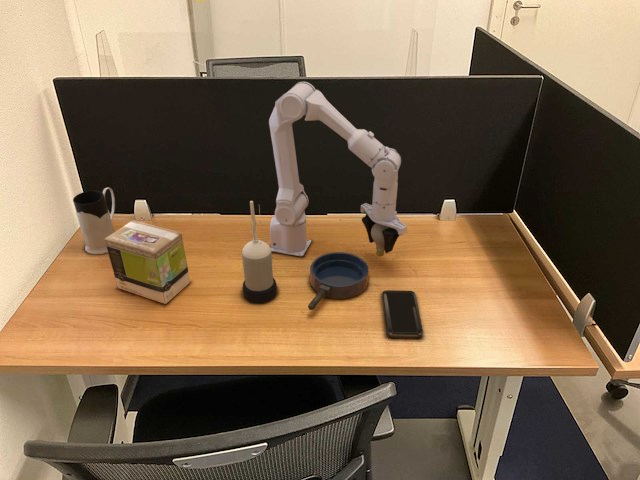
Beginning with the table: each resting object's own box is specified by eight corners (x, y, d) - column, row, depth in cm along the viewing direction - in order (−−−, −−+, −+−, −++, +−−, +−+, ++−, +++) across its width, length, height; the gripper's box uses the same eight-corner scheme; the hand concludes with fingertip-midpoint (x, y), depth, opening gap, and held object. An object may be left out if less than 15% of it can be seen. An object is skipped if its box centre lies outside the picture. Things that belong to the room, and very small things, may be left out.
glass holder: (78, 252, 137) (62, 203, 129) (107, 225, 149) (95, 179, 141) (107, 256, 136) (93, 207, 128) (134, 228, 147) (123, 182, 139)
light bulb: (390, 250, 134) (393, 218, 129) (390, 262, 130) (393, 229, 124) (369, 249, 135) (371, 217, 129) (369, 261, 130) (371, 228, 125)
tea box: (191, 281, 126) (183, 231, 118) (165, 305, 119) (154, 254, 111) (144, 266, 132) (132, 217, 123) (116, 289, 124) (102, 238, 116)
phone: (387, 334, 109) (382, 290, 121) (386, 338, 109) (381, 293, 122) (424, 334, 109) (415, 290, 121) (423, 338, 109) (414, 294, 122)
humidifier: (252, 279, 127) (243, 190, 113) (282, 286, 125) (277, 196, 111) (237, 299, 121) (226, 207, 107) (268, 307, 118) (261, 214, 105)
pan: (302, 293, 122) (302, 280, 120) (320, 260, 134) (320, 248, 132) (360, 304, 119) (360, 291, 117) (373, 270, 130) (373, 257, 128)
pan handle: (323, 288, 121) (323, 282, 120) (332, 290, 120) (332, 285, 119) (305, 309, 114) (305, 304, 114) (314, 313, 114) (314, 307, 113)
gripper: (417, 206, 120) (412, 253, 128) (376, 184, 130) (373, 229, 137) (396, 215, 117) (392, 263, 124) (355, 192, 126) (353, 238, 134)
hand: (380, 246), depth 130 cm, fingers closed on light bulb, 5 cm apart
